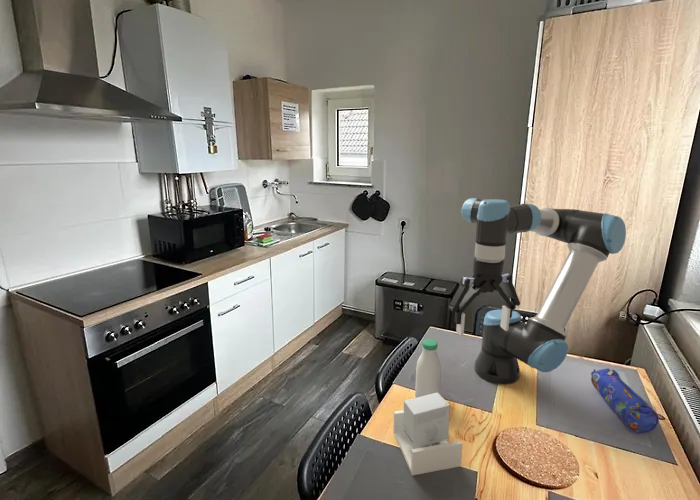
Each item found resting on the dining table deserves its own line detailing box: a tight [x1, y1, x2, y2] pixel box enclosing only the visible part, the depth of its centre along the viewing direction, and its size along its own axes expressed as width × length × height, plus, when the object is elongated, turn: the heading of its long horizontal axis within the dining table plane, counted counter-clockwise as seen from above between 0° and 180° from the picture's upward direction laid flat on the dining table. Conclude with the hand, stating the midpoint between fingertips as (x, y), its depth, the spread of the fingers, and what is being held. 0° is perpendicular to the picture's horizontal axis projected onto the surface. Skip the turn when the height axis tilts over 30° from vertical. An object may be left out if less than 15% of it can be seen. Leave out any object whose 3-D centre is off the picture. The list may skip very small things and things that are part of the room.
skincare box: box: [403, 392, 451, 449], centre depth 100 cm, size 10×6×10 cm, turn 109°
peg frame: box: [392, 409, 463, 476], centre depth 101 cm, size 13×15×7 cm
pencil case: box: [590, 367, 660, 434], centre depth 115 cm, size 22×9×10 cm, turn 173°
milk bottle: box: [414, 338, 442, 398], centre depth 120 cm, size 8×8×20 cm
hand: (482, 331), depth 106 cm, fingers open, 13 cm apart
